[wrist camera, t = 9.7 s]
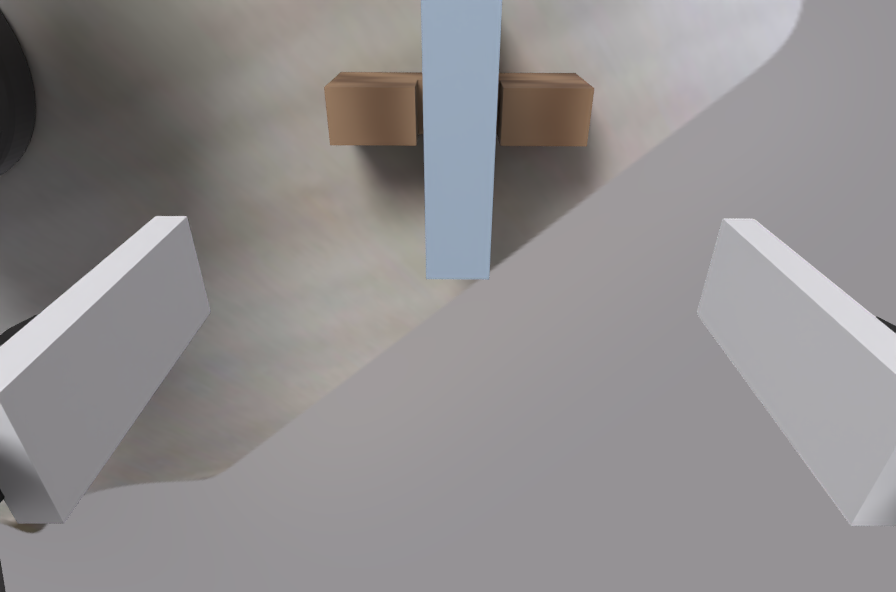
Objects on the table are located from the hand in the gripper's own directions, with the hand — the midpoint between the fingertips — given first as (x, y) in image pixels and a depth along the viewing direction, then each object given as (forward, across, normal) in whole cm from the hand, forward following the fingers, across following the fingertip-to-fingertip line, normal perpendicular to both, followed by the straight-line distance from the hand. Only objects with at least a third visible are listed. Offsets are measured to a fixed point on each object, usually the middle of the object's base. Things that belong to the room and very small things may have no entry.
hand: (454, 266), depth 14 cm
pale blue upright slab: (+23, 0, 0) cm, 23 cm away
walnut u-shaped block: (+23, 0, 0) cm, 23 cm away
